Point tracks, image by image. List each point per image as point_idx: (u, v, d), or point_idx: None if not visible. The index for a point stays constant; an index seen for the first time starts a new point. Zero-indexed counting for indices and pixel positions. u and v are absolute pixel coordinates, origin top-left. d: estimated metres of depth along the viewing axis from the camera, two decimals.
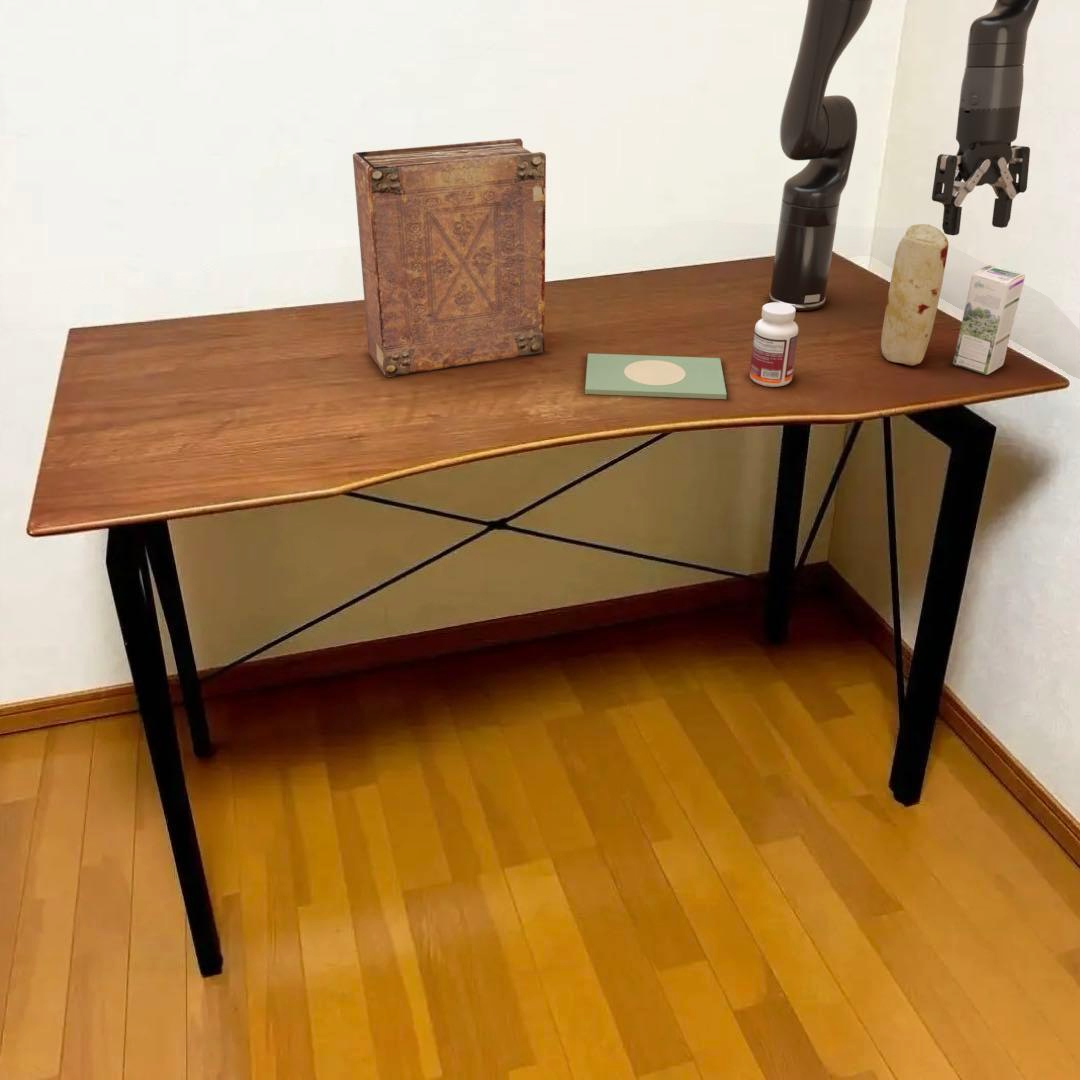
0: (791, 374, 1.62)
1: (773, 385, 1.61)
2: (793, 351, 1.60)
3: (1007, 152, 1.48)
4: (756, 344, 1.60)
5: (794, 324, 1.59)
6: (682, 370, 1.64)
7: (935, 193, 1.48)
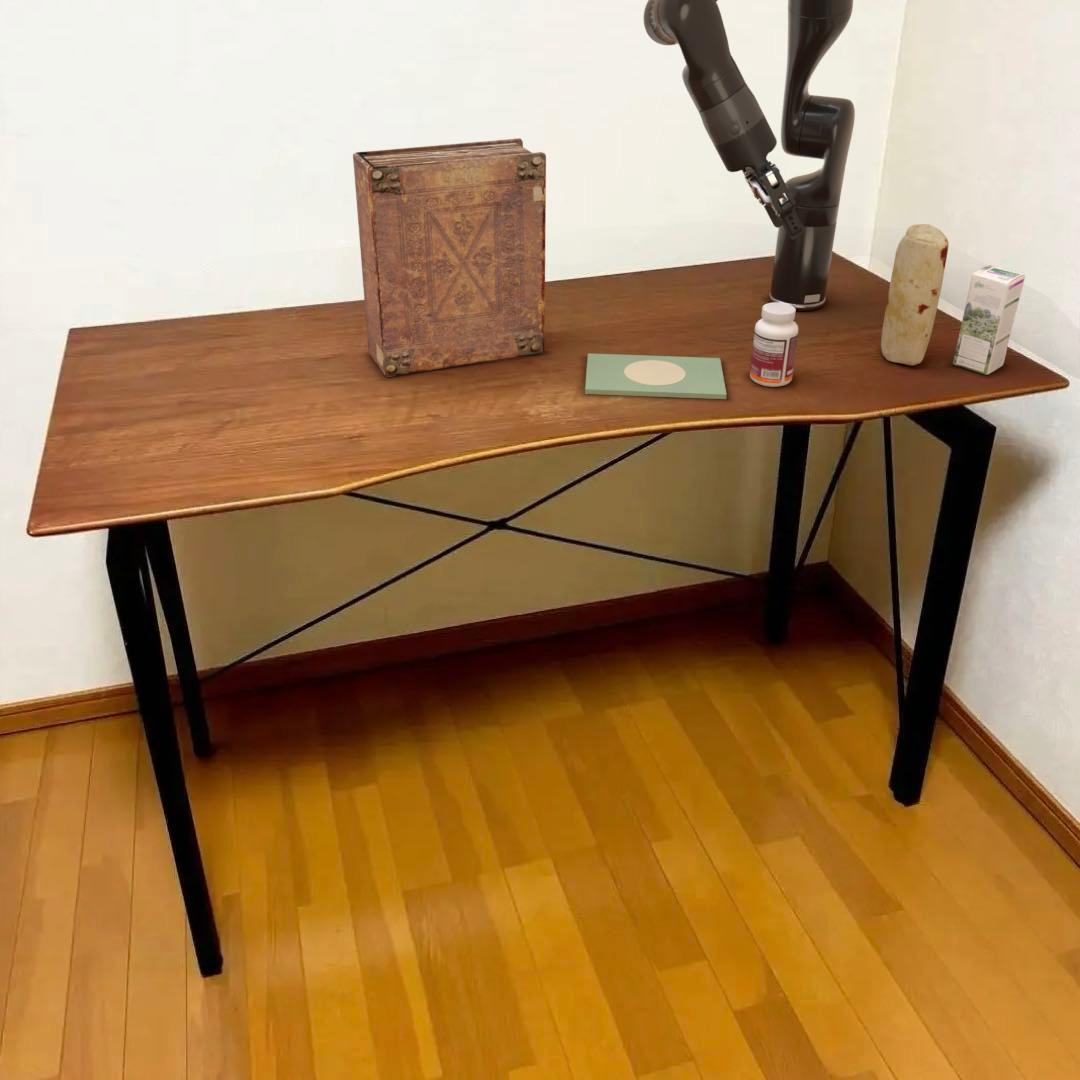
0: (791, 374, 1.62)
1: (773, 385, 1.61)
2: (793, 351, 1.60)
3: (755, 175, 1.51)
4: (756, 344, 1.60)
5: (794, 324, 1.59)
6: (682, 370, 1.64)
7: None
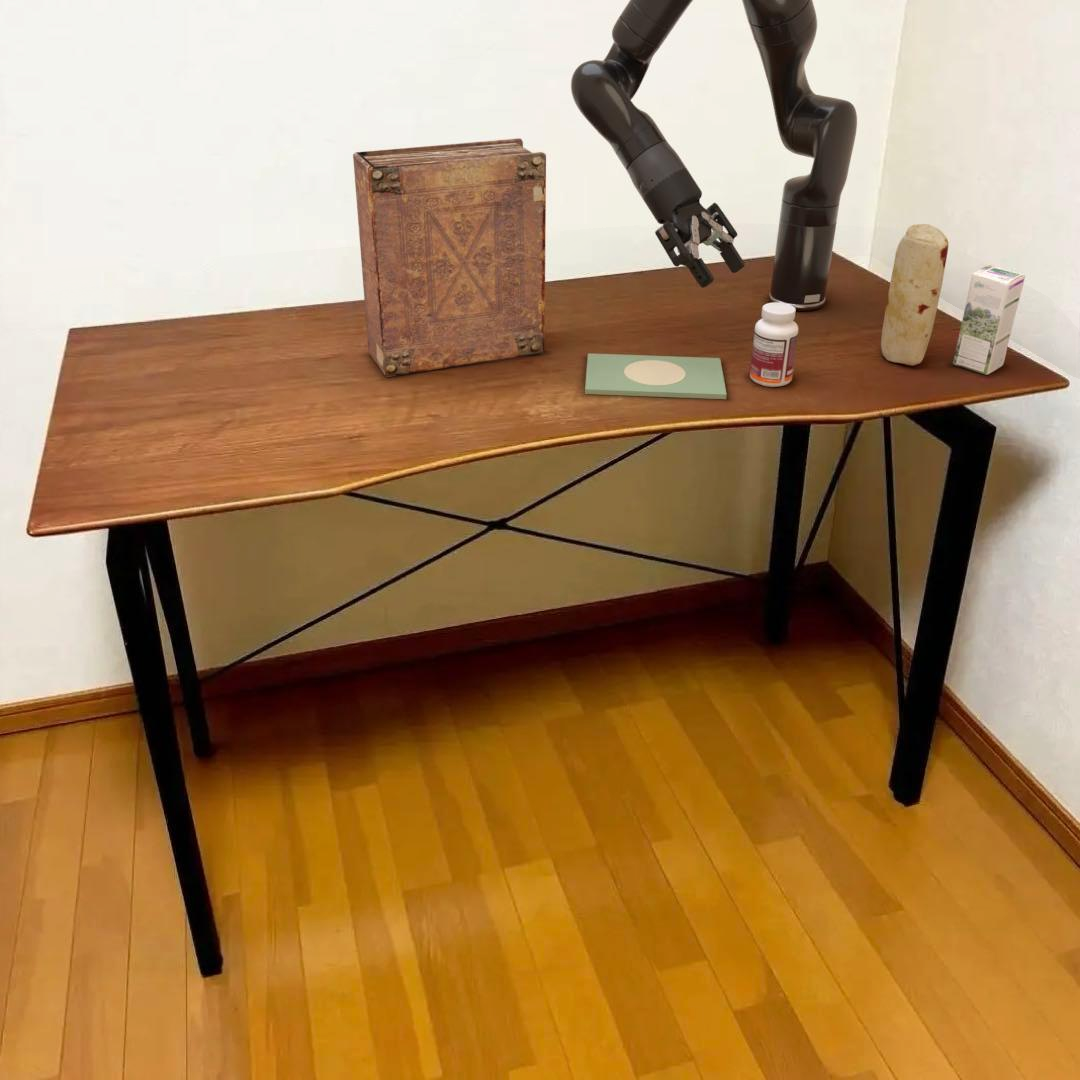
0: (791, 374, 1.62)
1: (773, 385, 1.61)
2: (793, 351, 1.60)
3: None
4: (756, 344, 1.60)
5: (794, 324, 1.59)
6: (682, 370, 1.64)
7: None
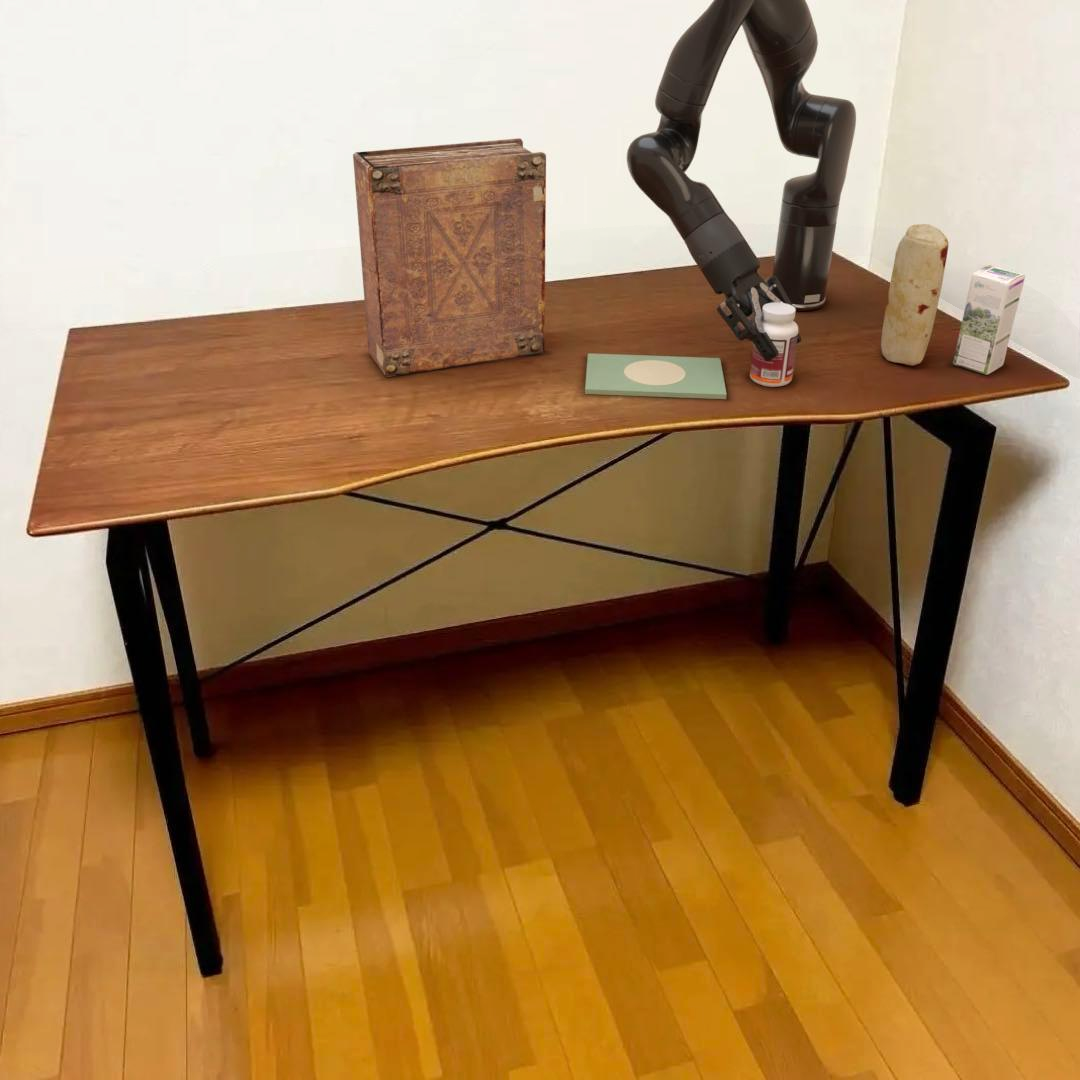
0: (791, 374, 1.62)
1: (773, 385, 1.61)
2: (793, 351, 1.60)
3: None
4: None
5: (794, 324, 1.59)
6: (682, 370, 1.64)
7: None
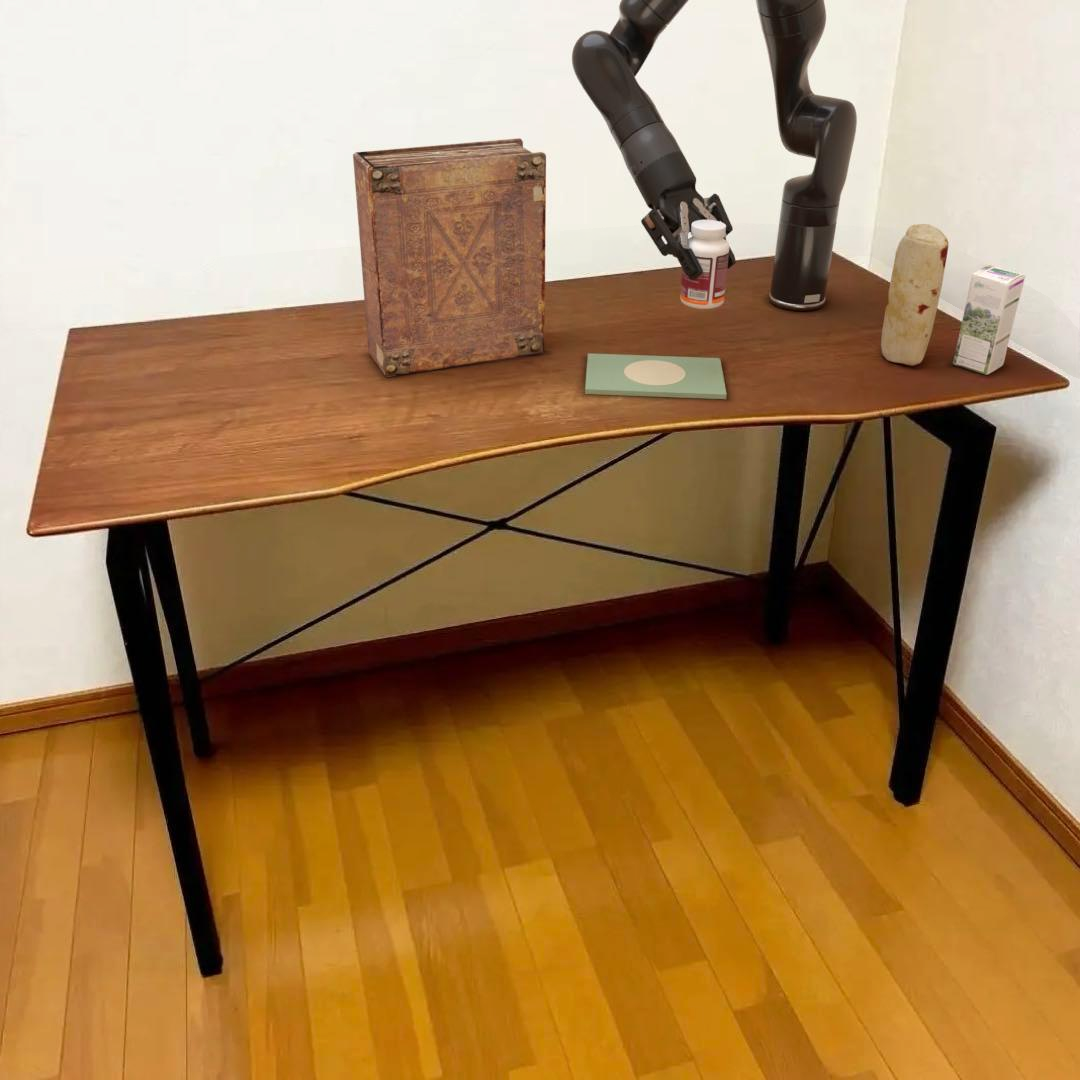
0: (721, 297, 1.54)
1: (700, 307, 1.54)
2: (721, 272, 1.52)
3: None
4: None
5: (724, 243, 1.51)
6: (682, 370, 1.64)
7: None
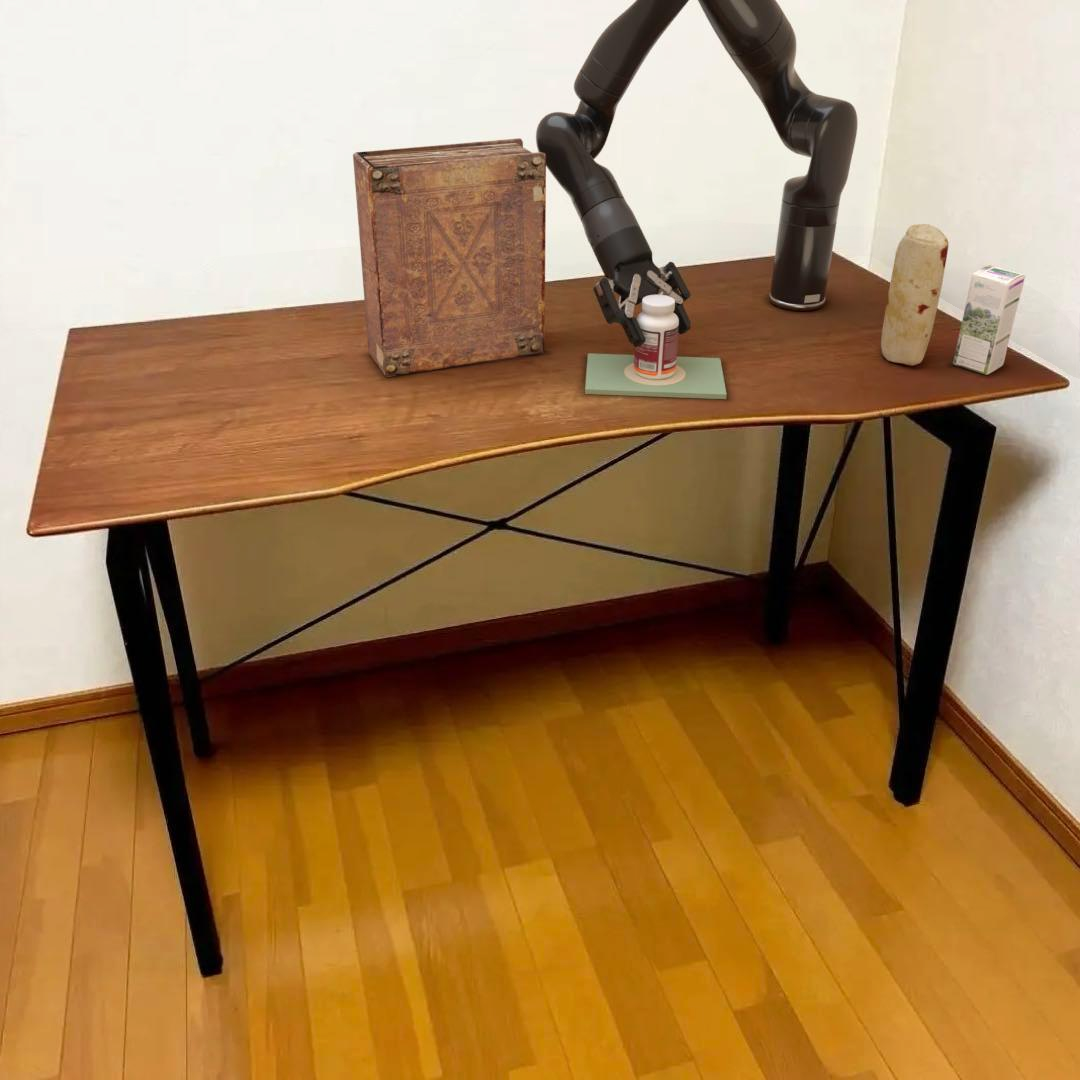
0: (670, 368, 1.61)
1: (650, 377, 1.61)
2: (670, 345, 1.59)
3: None
4: None
5: (672, 318, 1.58)
6: (682, 370, 1.64)
7: None
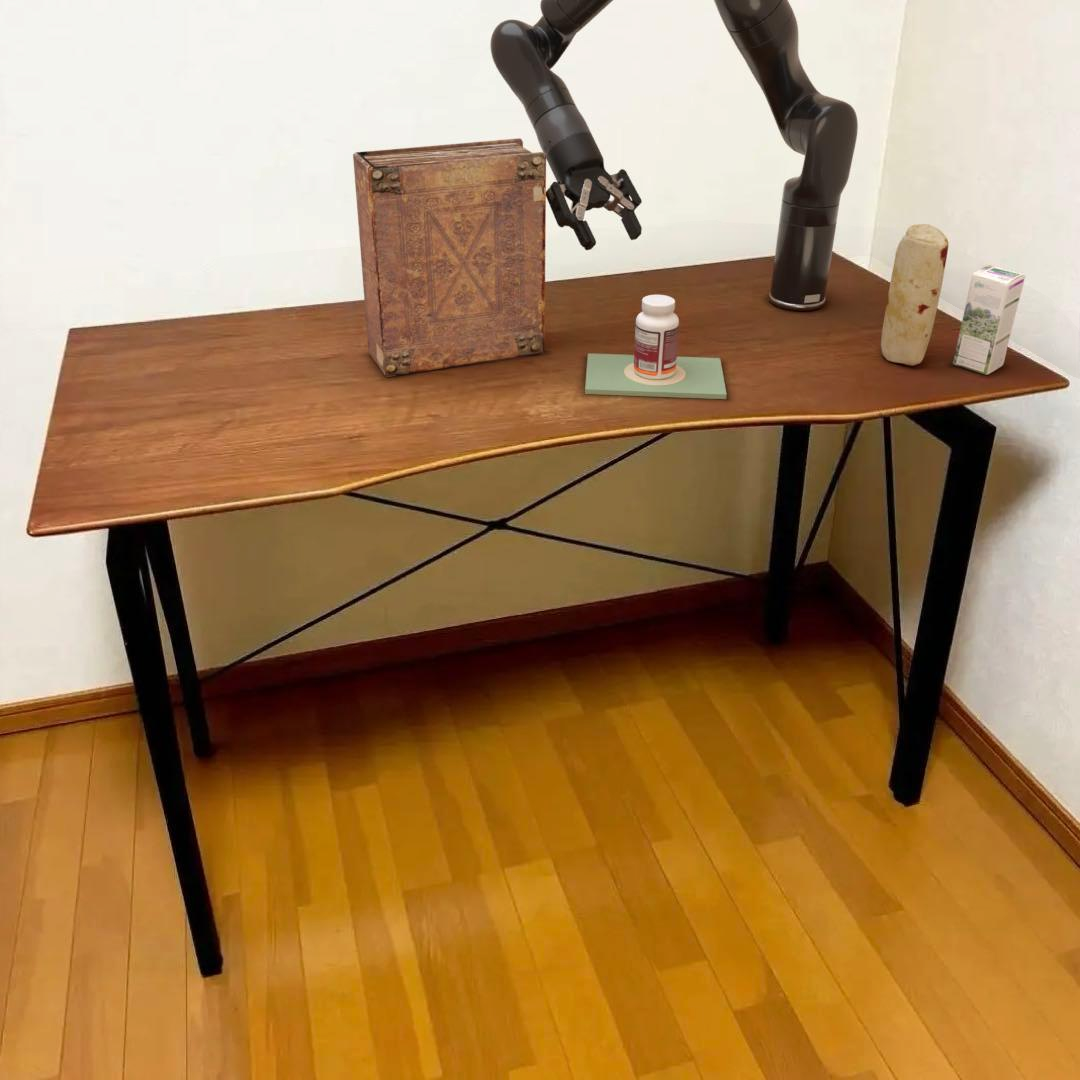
0: (670, 368, 1.61)
1: (650, 377, 1.61)
2: (670, 345, 1.59)
3: None
4: (635, 335, 1.60)
5: (672, 318, 1.58)
6: (682, 370, 1.64)
7: None
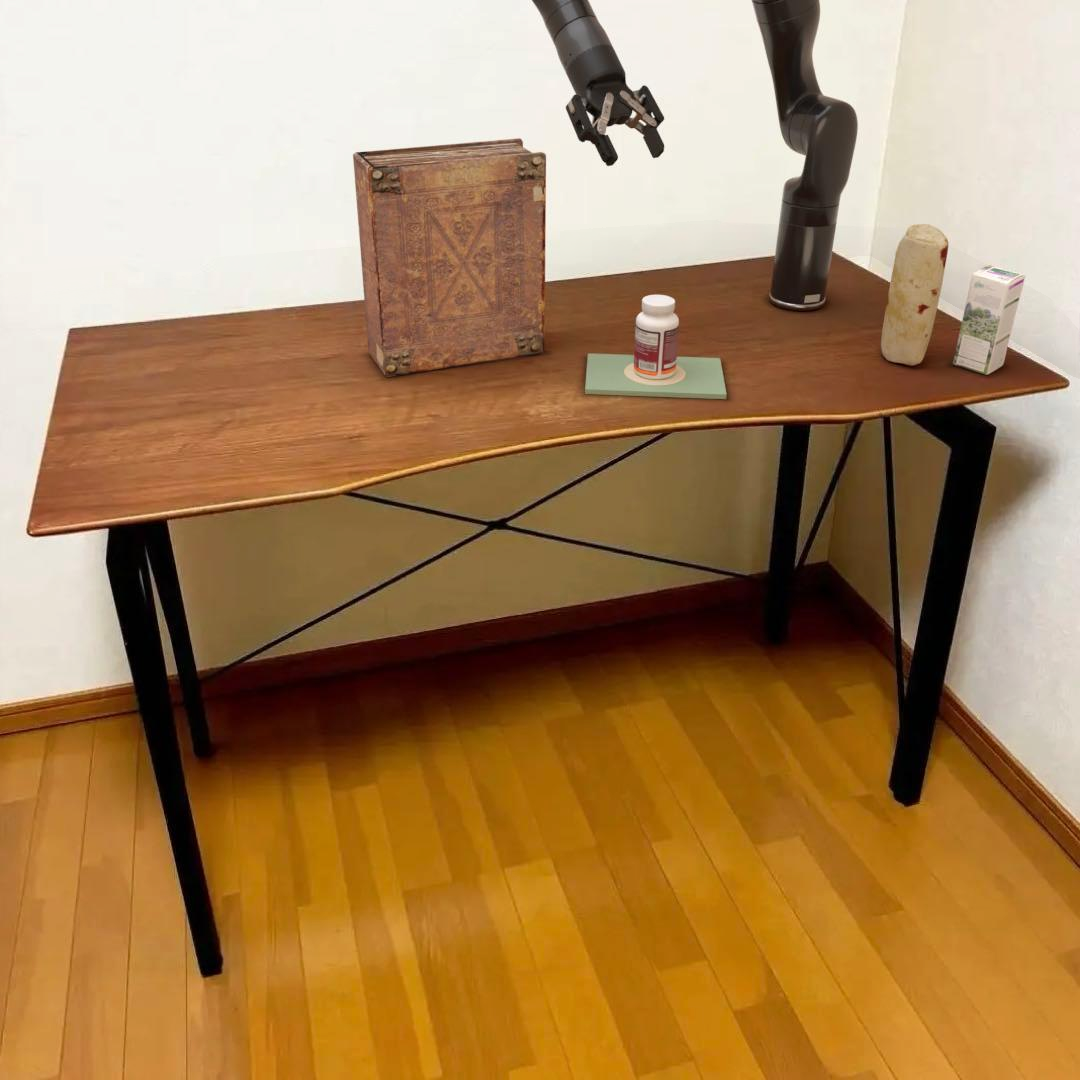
0: (670, 368, 1.61)
1: (650, 377, 1.61)
2: (670, 345, 1.59)
3: None
4: (635, 335, 1.60)
5: (672, 318, 1.58)
6: (682, 370, 1.64)
7: None
